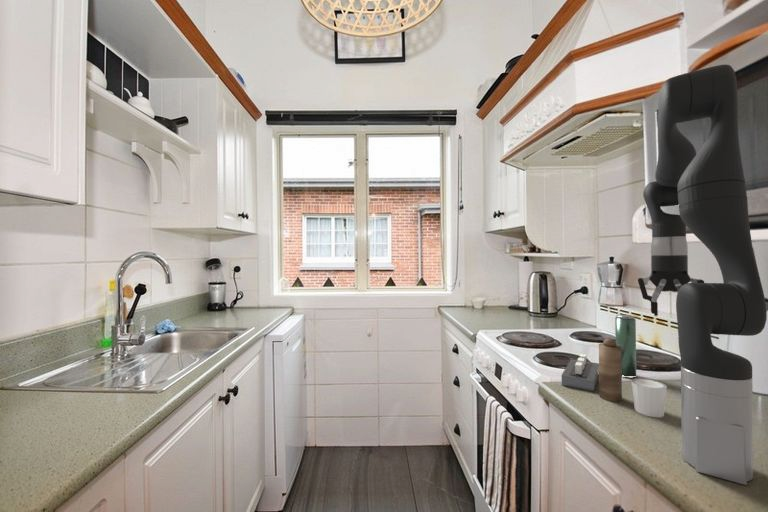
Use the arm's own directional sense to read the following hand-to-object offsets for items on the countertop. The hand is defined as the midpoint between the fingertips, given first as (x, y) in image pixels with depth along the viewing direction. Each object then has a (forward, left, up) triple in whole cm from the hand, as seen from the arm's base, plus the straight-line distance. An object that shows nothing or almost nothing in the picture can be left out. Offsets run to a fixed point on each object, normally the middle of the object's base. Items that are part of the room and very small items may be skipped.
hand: (669, 316), depth 90 cm
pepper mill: (-11, +13, -21) cm, 27 cm away
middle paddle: (0, +21, -18) cm, 28 cm away
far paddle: (+5, +21, -18) cm, 28 cm away
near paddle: (-5, +21, -18) cm, 28 cm away
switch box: (0, +21, -21) cm, 30 cm away
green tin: (+11, +10, -21) cm, 26 cm away
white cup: (-15, +5, -22) cm, 27 cm away
